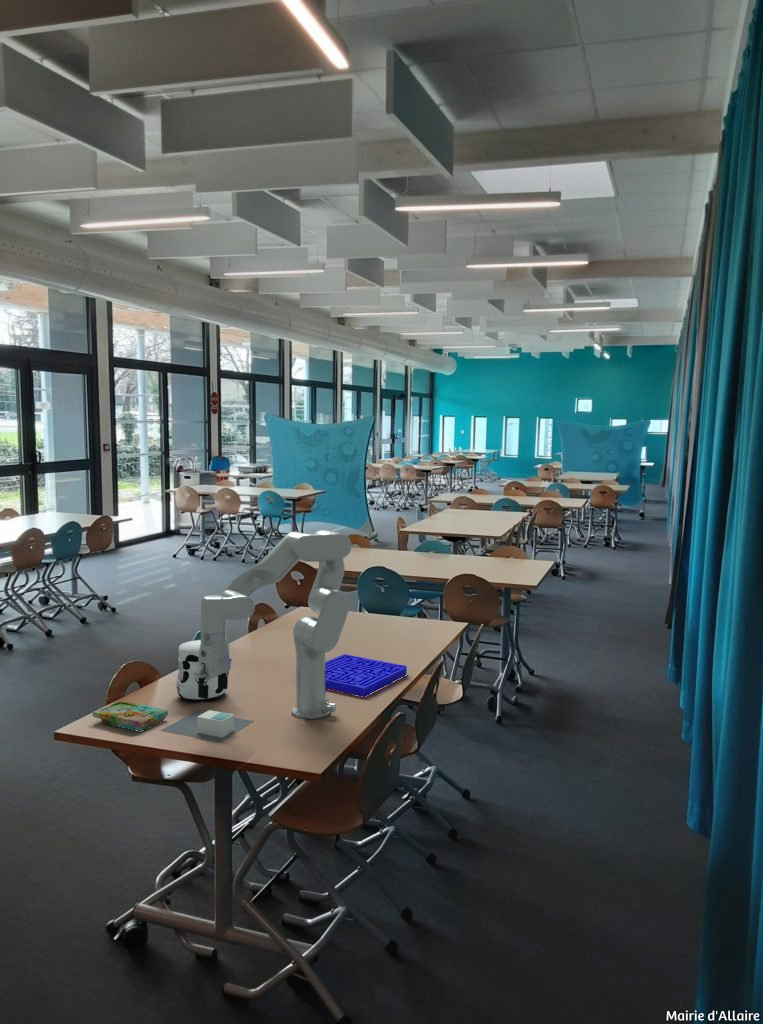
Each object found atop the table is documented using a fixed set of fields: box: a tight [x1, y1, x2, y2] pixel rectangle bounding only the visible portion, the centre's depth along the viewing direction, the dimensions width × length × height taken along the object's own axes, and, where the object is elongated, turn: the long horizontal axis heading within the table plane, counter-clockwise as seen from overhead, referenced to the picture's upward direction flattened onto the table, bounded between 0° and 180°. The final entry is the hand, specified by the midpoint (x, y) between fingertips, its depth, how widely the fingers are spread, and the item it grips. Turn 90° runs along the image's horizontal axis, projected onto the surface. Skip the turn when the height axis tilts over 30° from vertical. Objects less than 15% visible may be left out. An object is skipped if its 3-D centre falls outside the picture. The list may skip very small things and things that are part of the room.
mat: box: [160, 710, 255, 743], centre depth 231 cm, size 22×18×1 cm
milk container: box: [175, 639, 228, 702], centre depth 259 cm, size 17×17×18 cm
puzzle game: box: [92, 700, 169, 731], centre depth 235 cm, size 12×5×20 cm
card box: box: [197, 709, 235, 738], centre depth 226 cm, size 9×6×5 cm, turn 67°
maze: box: [325, 653, 407, 698], centre depth 279 cm, size 30×30×4 cm
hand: (213, 692), depth 225 cm, fingers open, 9 cm apart
